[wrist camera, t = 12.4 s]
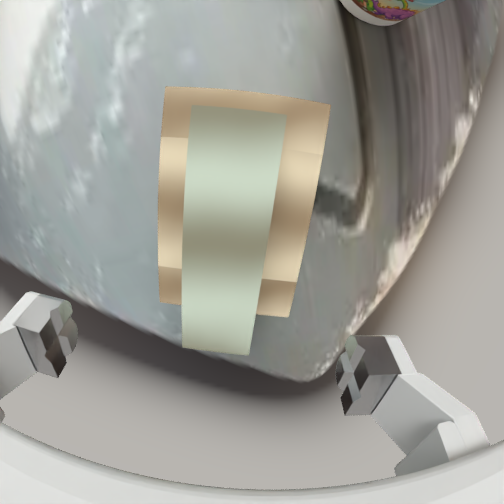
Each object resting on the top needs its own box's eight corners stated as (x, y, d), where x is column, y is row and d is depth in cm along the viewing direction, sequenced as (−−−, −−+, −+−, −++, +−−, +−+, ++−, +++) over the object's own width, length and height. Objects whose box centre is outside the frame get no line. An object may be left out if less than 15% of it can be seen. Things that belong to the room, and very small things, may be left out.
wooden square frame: (278, 244, 32) (288, 317, 21) (191, 234, 31) (159, 301, 20) (300, 107, 25) (330, 104, 15) (202, 95, 25) (165, 86, 14)
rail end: (251, 272, 24) (248, 355, 16) (205, 266, 24) (182, 347, 16) (273, 113, 19) (287, 114, 10) (219, 107, 18) (191, 104, 10)
